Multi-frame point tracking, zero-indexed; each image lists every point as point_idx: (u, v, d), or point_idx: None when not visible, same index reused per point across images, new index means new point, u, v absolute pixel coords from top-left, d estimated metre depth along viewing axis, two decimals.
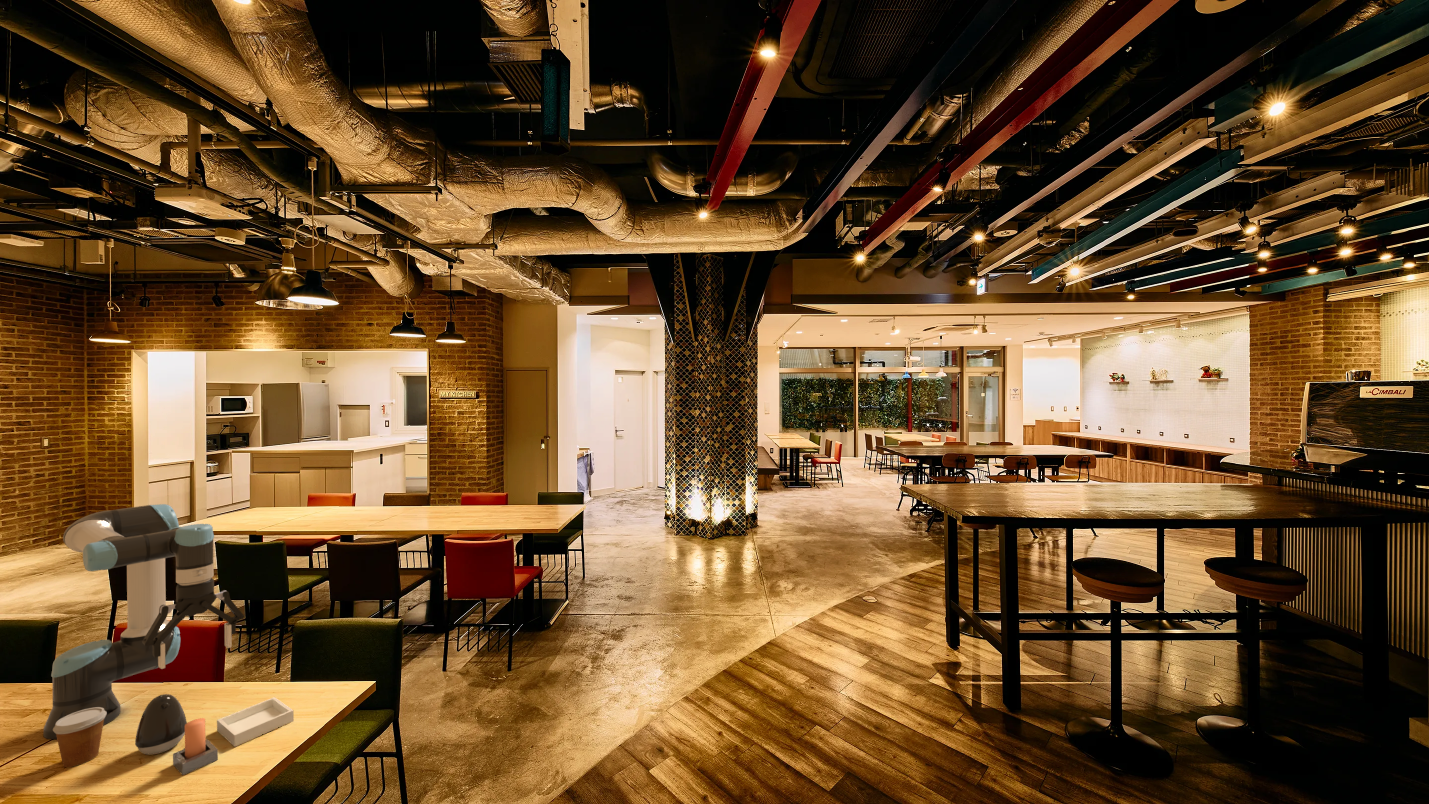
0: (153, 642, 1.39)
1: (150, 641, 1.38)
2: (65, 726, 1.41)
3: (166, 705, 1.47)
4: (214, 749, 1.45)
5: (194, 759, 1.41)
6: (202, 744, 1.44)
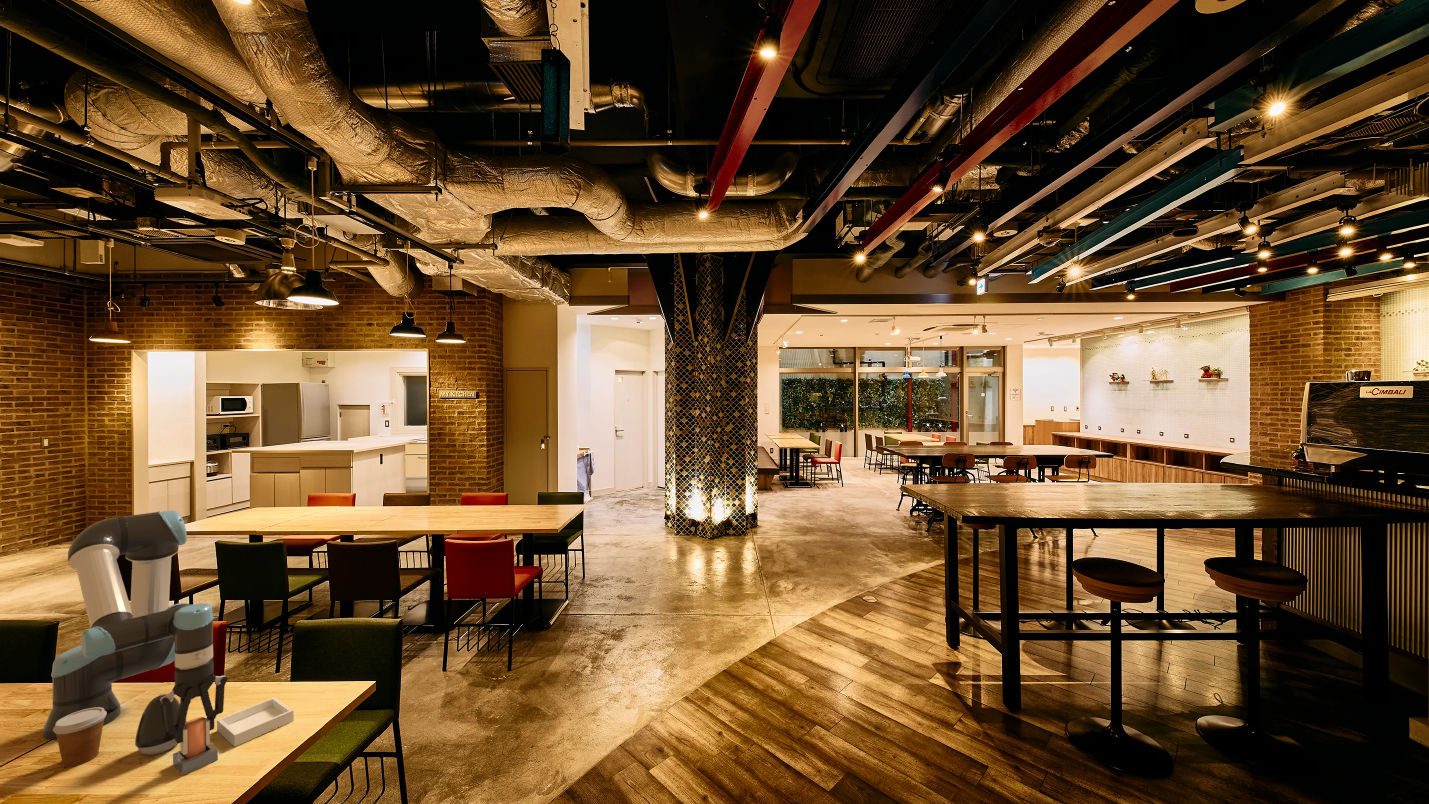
0: (175, 730, 1.40)
1: (172, 728, 1.39)
2: (65, 726, 1.41)
3: None
4: (214, 749, 1.45)
5: (194, 759, 1.41)
6: (202, 743, 1.44)
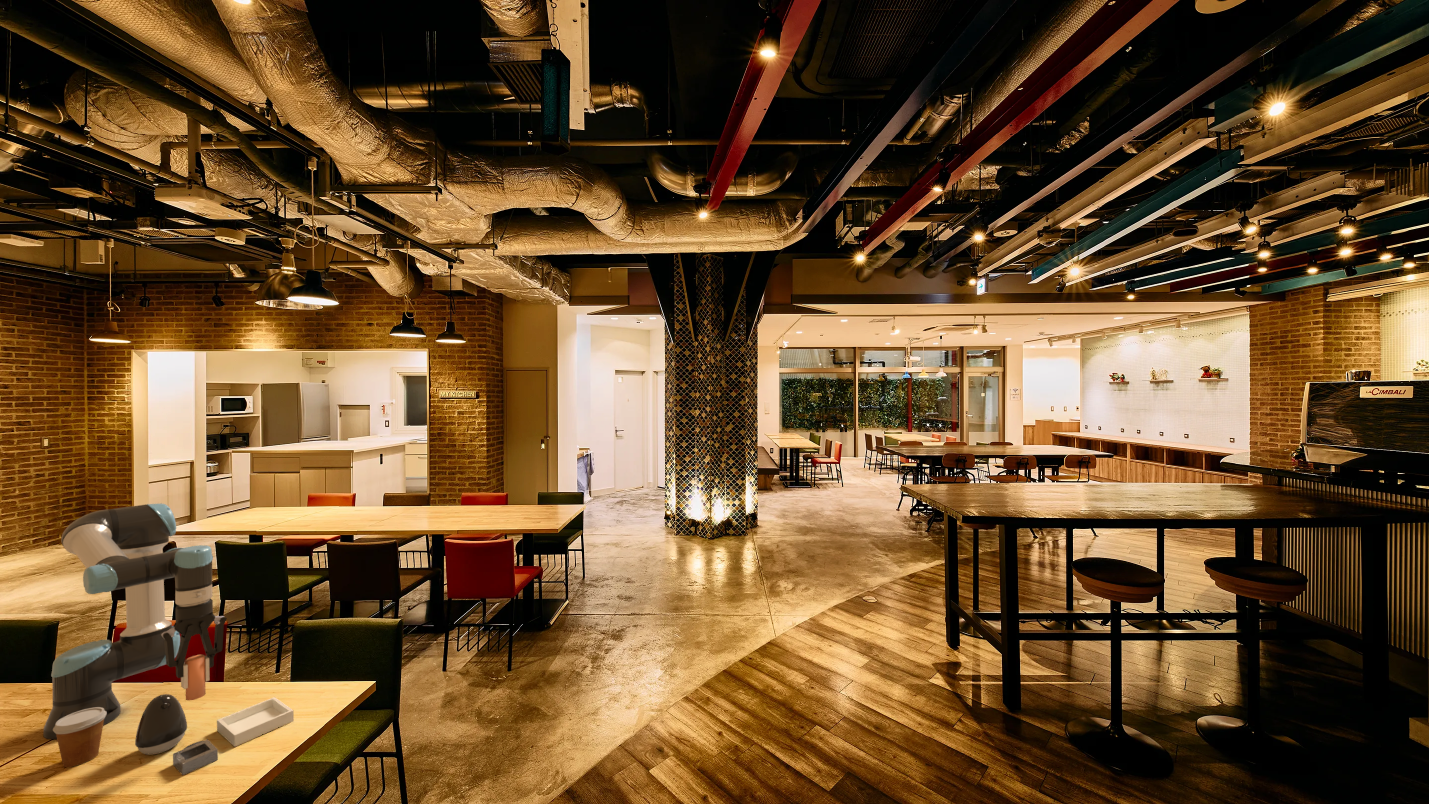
0: (176, 665, 1.45)
1: (173, 662, 1.44)
2: (65, 726, 1.41)
3: (166, 705, 1.47)
4: (214, 749, 1.45)
5: (194, 759, 1.41)
6: (202, 679, 1.49)
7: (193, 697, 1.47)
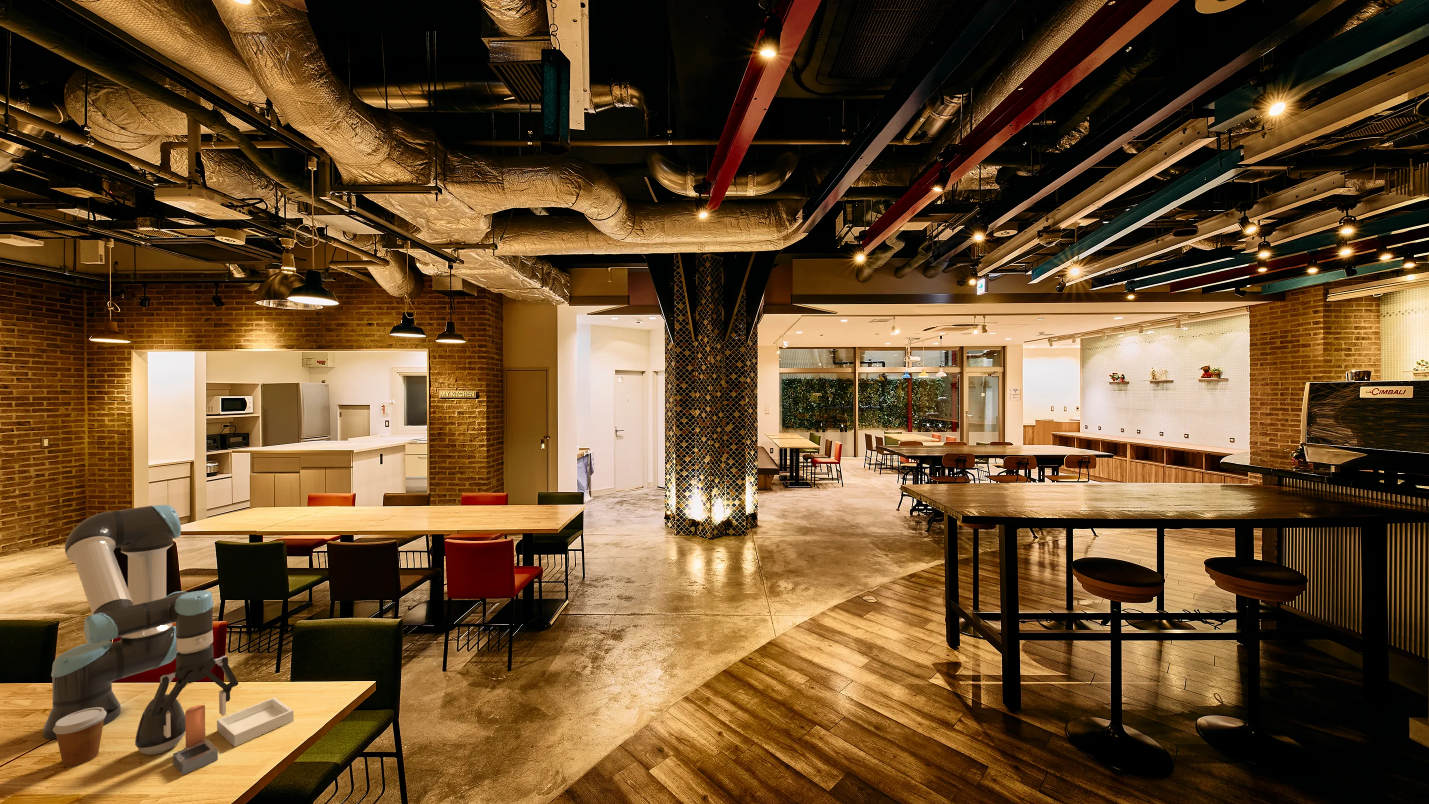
0: (159, 712, 1.42)
1: (156, 711, 1.42)
2: (65, 726, 1.41)
3: None
4: (214, 749, 1.45)
5: (194, 759, 1.41)
6: (202, 730, 1.49)
7: None
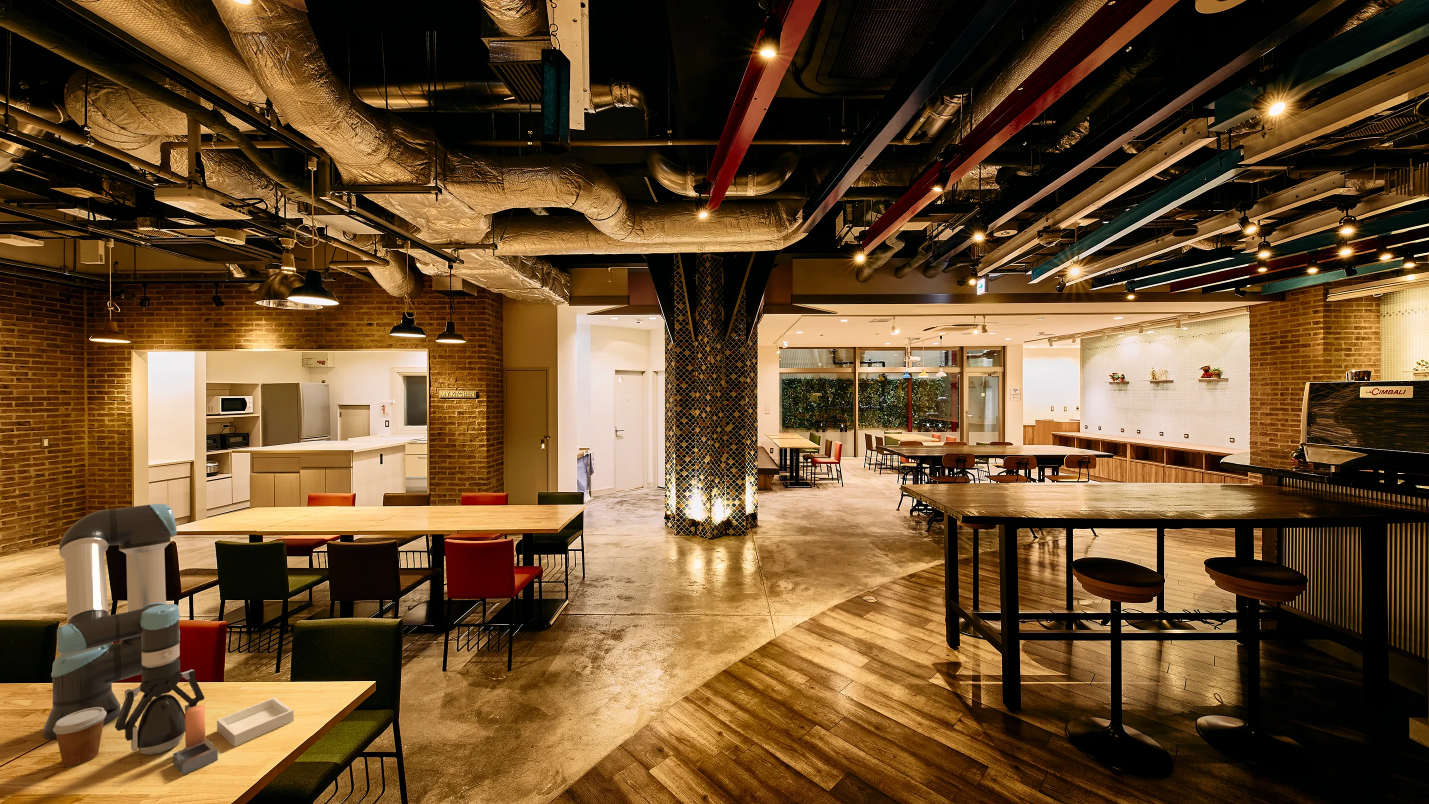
0: (125, 727, 1.43)
1: (122, 726, 1.42)
2: (65, 726, 1.41)
3: (166, 705, 1.47)
4: (214, 749, 1.45)
5: (194, 759, 1.41)
6: (202, 730, 1.49)
7: None
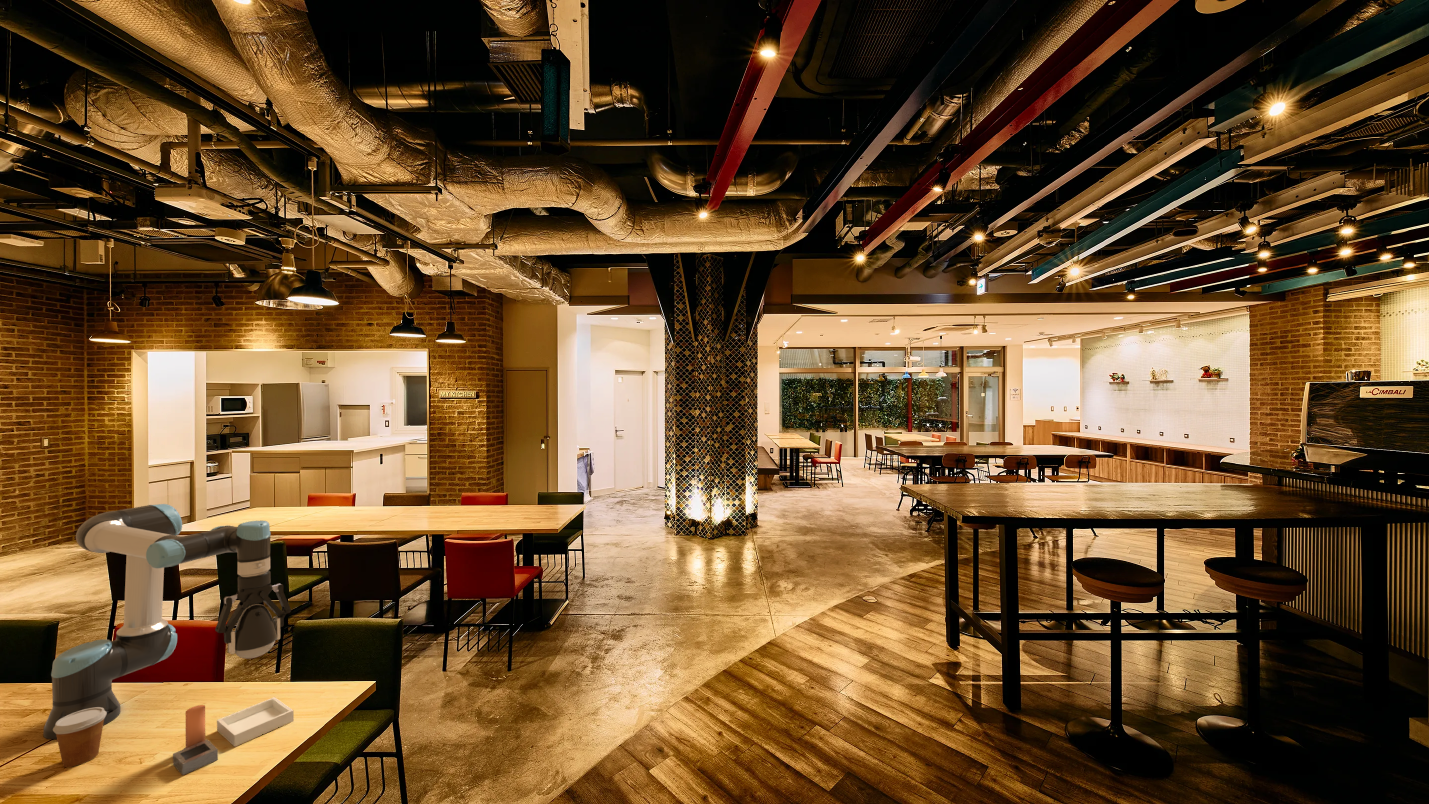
0: (225, 630, 1.53)
1: (222, 629, 1.52)
2: (65, 726, 1.41)
3: (261, 612, 1.57)
4: (214, 749, 1.45)
5: (194, 759, 1.41)
6: (202, 730, 1.49)
7: None
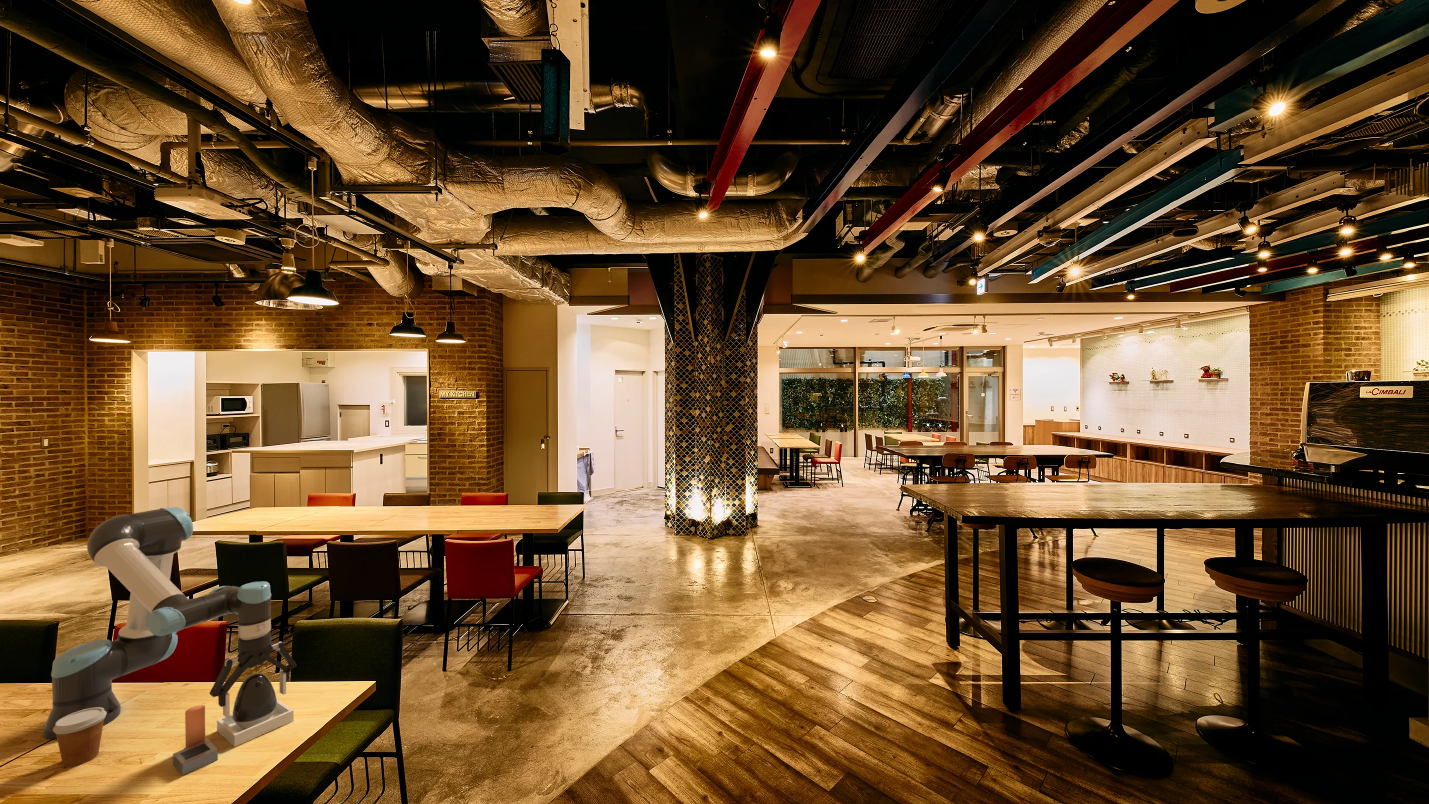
0: (219, 693, 1.52)
1: (217, 692, 1.51)
2: (65, 726, 1.41)
3: (260, 684, 1.56)
4: (214, 749, 1.45)
5: (194, 759, 1.41)
6: (202, 730, 1.49)
7: None
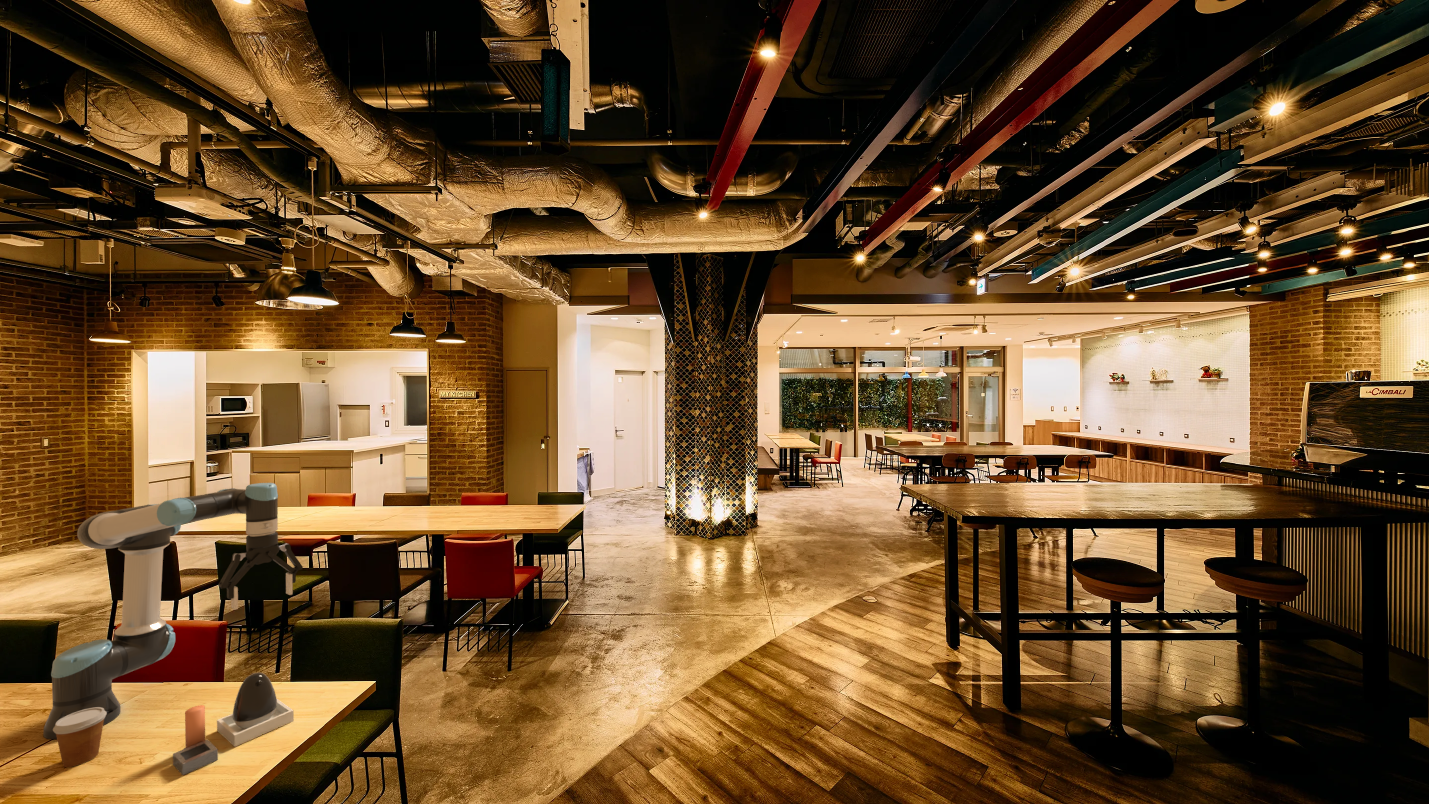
0: (228, 585, 1.56)
1: (225, 584, 1.55)
2: (65, 726, 1.41)
3: (261, 682, 1.57)
4: (214, 749, 1.45)
5: (194, 759, 1.41)
6: (202, 730, 1.49)
7: None
